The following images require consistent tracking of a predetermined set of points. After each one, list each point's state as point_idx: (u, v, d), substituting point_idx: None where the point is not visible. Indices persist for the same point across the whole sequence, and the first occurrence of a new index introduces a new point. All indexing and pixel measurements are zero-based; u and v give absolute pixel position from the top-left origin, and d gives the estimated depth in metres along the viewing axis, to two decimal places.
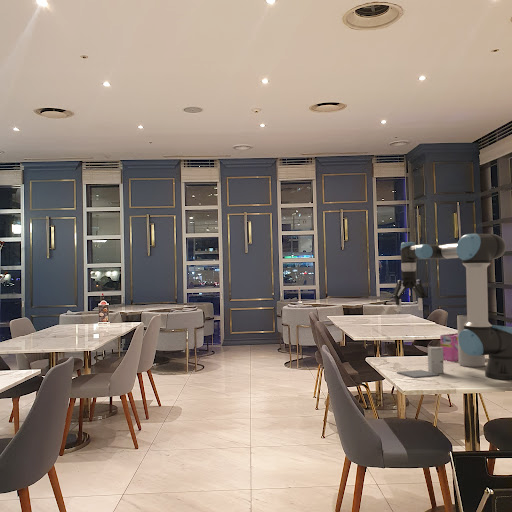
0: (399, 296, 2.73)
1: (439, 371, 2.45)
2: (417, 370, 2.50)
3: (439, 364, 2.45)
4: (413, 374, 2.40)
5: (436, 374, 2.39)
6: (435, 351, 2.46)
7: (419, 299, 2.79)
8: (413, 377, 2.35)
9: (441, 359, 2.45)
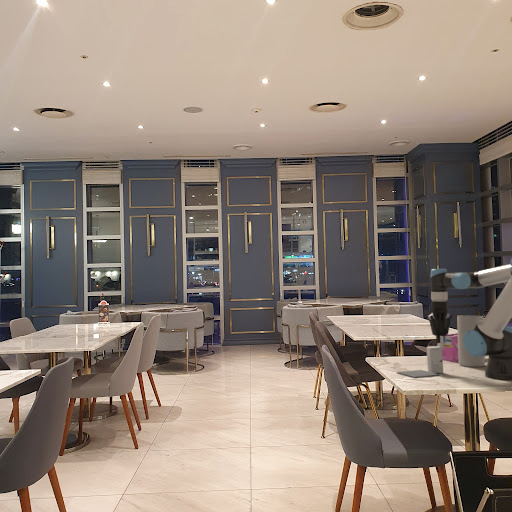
0: (439, 333, 2.48)
1: (439, 370, 2.45)
2: (417, 370, 2.50)
3: (439, 363, 2.45)
4: (413, 374, 2.40)
5: (436, 374, 2.39)
6: (434, 350, 2.45)
7: None
8: (413, 377, 2.35)
9: (440, 358, 2.45)
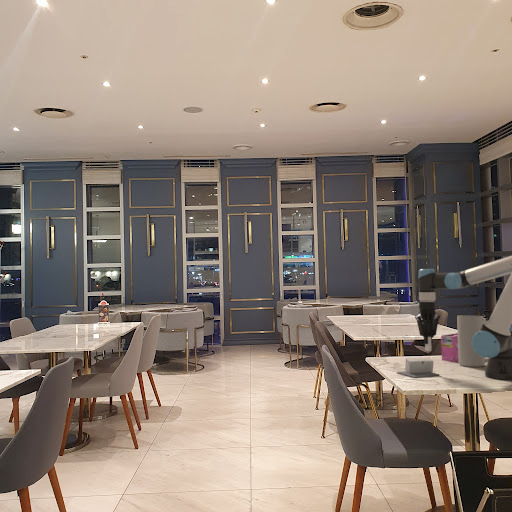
0: (427, 334, 2.45)
1: (431, 365, 2.44)
2: None
3: (425, 364, 2.43)
4: (413, 374, 2.40)
5: (436, 374, 2.39)
6: (412, 368, 2.43)
7: None
8: (413, 377, 2.35)
9: (420, 363, 2.43)
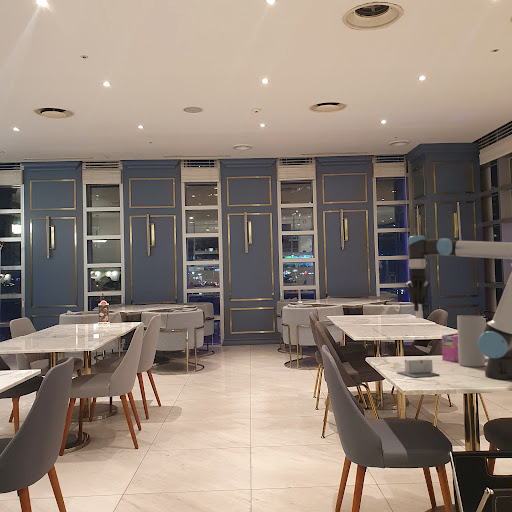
0: (417, 301, 2.44)
1: (430, 364, 2.45)
2: None
3: (424, 363, 2.44)
4: (413, 374, 2.40)
5: (436, 374, 2.39)
6: (411, 368, 2.43)
7: None
8: (413, 377, 2.35)
9: (419, 362, 2.44)
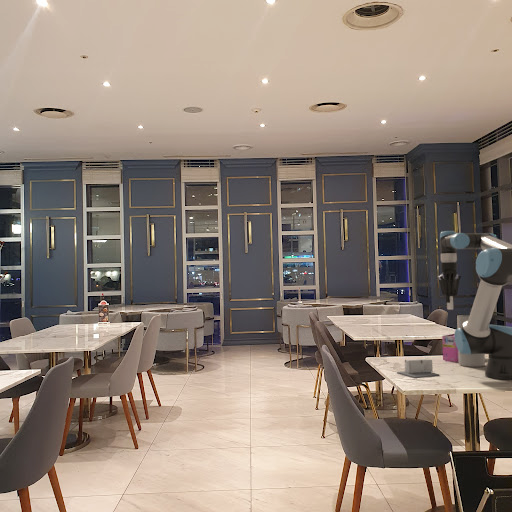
0: (449, 293, 2.57)
1: (430, 364, 2.45)
2: None
3: (424, 363, 2.44)
4: (413, 374, 2.40)
5: (436, 374, 2.39)
6: (411, 368, 2.43)
7: None
8: (413, 377, 2.35)
9: (419, 362, 2.44)
